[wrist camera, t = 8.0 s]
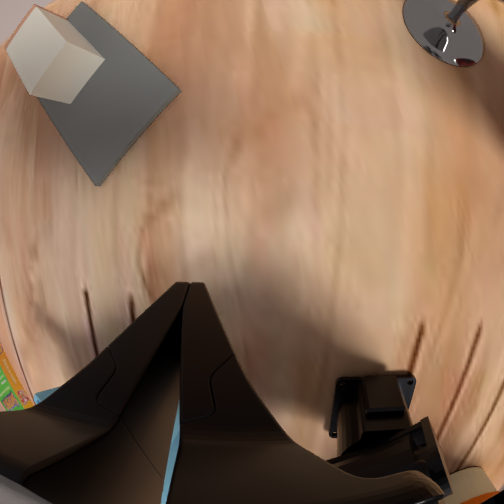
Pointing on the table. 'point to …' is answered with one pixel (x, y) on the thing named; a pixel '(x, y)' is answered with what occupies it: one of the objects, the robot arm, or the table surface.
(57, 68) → the tall block
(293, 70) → the table surface
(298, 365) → the table surface
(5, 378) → the game box
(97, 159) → the rubber mat
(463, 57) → the wine glass
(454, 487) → the reusable coffee cup
